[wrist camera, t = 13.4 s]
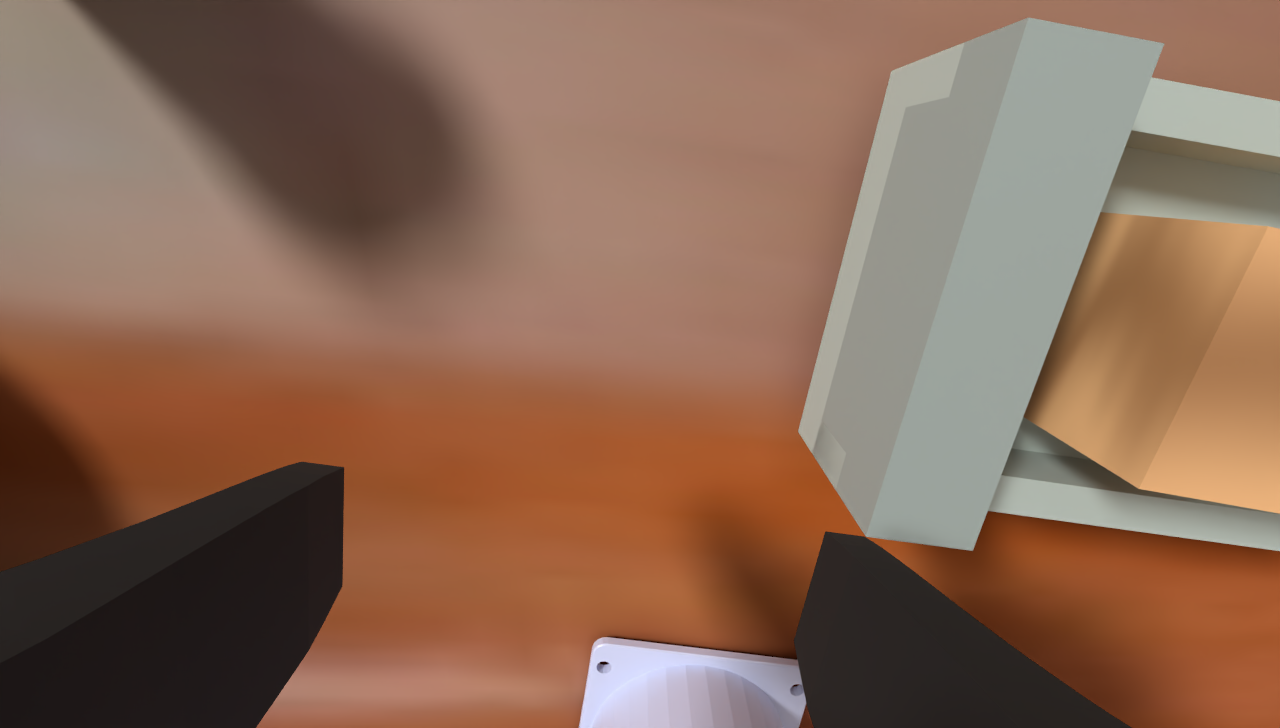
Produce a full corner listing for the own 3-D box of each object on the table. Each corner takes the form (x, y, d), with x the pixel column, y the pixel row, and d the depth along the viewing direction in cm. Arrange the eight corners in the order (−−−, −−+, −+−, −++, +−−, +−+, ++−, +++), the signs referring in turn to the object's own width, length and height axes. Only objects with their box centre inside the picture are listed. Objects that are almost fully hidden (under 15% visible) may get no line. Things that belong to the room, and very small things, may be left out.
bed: (1201, 478, 20) (1456, 615, 14) (789, 418, 19) (865, 536, 13) (1354, 163, 17) (1768, 158, 11) (876, 77, 16) (1028, 17, 10)
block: (1160, 427, 17) (1373, 530, 12) (990, 396, 16) (1138, 489, 12) (1248, 248, 15) (1532, 282, 10) (1063, 208, 15) (1268, 226, 10)
